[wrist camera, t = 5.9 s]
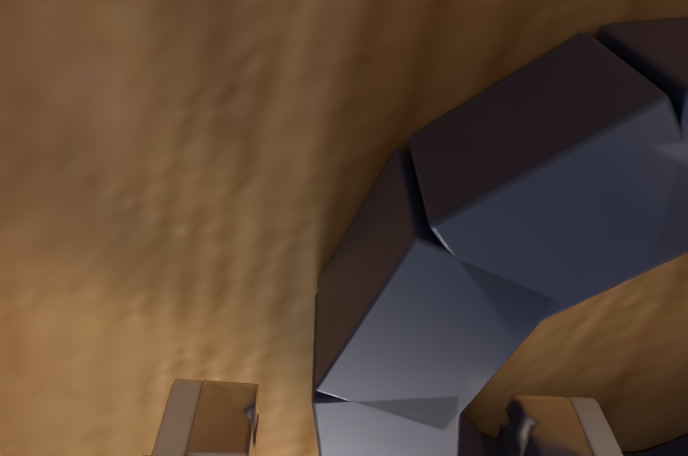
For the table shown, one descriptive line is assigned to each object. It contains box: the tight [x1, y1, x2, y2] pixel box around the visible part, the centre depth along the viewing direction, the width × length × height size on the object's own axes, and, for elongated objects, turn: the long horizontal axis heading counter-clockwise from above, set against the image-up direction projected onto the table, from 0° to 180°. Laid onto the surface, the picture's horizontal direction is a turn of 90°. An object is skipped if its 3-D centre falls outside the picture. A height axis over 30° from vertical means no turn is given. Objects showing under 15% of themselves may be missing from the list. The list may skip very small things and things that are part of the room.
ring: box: [312, 18, 688, 456], centre depth 12 cm, size 13×13×3 cm
